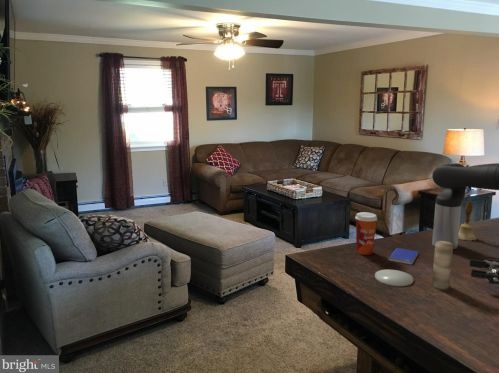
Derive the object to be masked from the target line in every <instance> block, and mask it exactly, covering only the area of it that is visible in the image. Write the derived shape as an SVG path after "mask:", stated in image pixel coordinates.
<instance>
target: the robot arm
mask: <svg viewBox="0 0 499 373" xmlns="http://www.w3.org/2000/svg"><path fill="white" fill-rule="evenodd" d="M431 175H432V176H431V178H432V181H433V182H434V184H436V186H437V187H439V188H443V190H442V192H441V193H440V194H438V195H437V196H436V197H435V207H434V218H433V230H432V238H431V240H432V242H431V245H432V246H433V247H435V243H436V242H437V241H445V242H450V243H452V244H453V250H456V249H457V248H458V244H459V243H458V242H459V239H458V235H459V230H460V226H461V225H460V224H461V223H460V222H461V215H462V214H461V212H462V205H463V204H462V203H463V200H464V199H465V197H466V191H467V190H466V189H467V188H472V189H479V190H480V189H481V190H491V191H499V162H496V163H486V164H485V163H484V164H477V165H476V164H475V165H470V166H464V165H463V164H461V163H446V164H441V165H439V166H437V167H436V168H435V169H434V170H433V171H432V174H431ZM469 267H471V268H472V269H471V270H470V276H471V278H476V279H483V280H486V281H488V283H489V284H492V285H499V259H493V258H489V257H488V258H485V259H484V260H478V259H471V258H470V260H469ZM474 268H479V269H474ZM480 269H481V270H480ZM482 269H485V270H482Z"/></svg>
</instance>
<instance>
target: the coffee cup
mask: <svg viewBox="0 0 499 373" xmlns="http://www.w3.org/2000/svg"><path fill="white" fill-rule="evenodd" d="M377 216H378V215H377V214H375V213H372V212H368V211H367V212H366V211H365V212H364V211H363V212H361V211H360V212H358V213H357V212H356V215H355V217H354V218H355V231H356V232H355V235H356V236H355V240H356V241H355V242H356V244H355V245H356V253H357V254H359V255H363V256H365V255H366V256H368V255H372V254H373V251H374V243H375V237H376V236H375V235H376V226H377V221H378V217H377Z"/></svg>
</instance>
